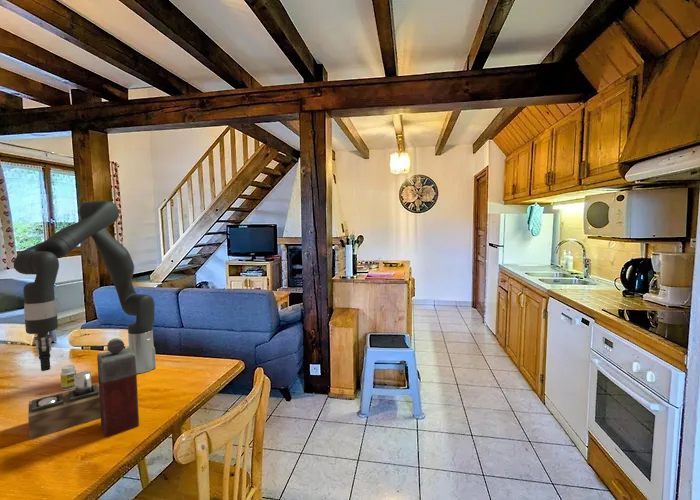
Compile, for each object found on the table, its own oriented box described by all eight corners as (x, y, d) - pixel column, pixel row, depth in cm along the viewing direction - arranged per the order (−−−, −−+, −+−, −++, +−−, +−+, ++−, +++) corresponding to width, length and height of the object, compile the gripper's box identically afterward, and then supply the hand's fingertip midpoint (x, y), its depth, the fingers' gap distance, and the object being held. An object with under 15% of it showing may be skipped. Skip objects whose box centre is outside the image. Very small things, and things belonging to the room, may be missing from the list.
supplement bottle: (68, 391, 132) (66, 369, 132) (58, 390, 133) (56, 368, 133) (80, 385, 137) (78, 364, 136) (70, 384, 138) (69, 363, 137)
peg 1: (57, 415, 113) (56, 395, 113) (58, 421, 110) (57, 400, 109) (39, 420, 110) (38, 400, 110) (39, 426, 107) (38, 405, 106)
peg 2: (91, 389, 119) (89, 370, 118) (92, 394, 115) (91, 374, 115) (74, 393, 116) (73, 373, 115) (75, 398, 112) (74, 378, 112)
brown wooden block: (98, 403, 124) (97, 381, 123) (103, 416, 115) (102, 393, 114) (30, 422, 112) (28, 398, 111) (29, 439, 103) (28, 413, 102)
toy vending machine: (132, 411, 118) (128, 331, 116) (139, 426, 110) (135, 339, 107) (100, 421, 112) (95, 337, 110) (105, 437, 104) (99, 346, 101)
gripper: (58, 317, 105) (62, 373, 106) (56, 309, 114) (60, 360, 116) (24, 322, 100) (29, 380, 101) (25, 313, 109) (29, 366, 111)
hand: (45, 369), depth 109 cm, fingers closed
